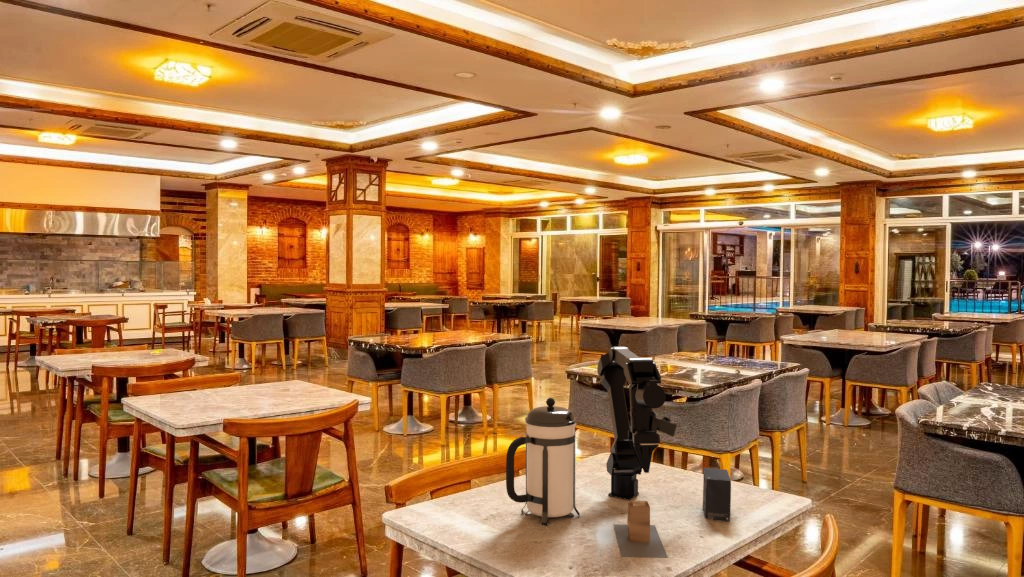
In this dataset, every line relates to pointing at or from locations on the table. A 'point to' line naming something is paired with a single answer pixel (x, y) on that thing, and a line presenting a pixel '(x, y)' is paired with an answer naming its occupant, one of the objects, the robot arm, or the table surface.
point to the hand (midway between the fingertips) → (644, 470)
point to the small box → (716, 494)
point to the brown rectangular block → (638, 521)
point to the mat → (639, 544)
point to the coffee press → (546, 462)
